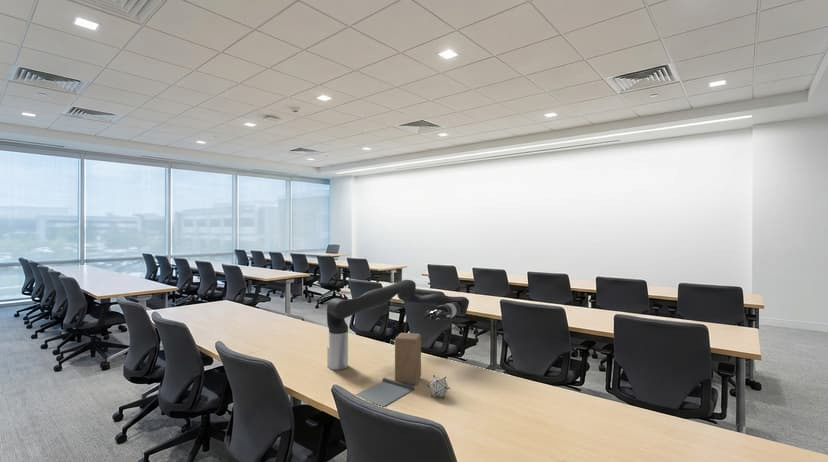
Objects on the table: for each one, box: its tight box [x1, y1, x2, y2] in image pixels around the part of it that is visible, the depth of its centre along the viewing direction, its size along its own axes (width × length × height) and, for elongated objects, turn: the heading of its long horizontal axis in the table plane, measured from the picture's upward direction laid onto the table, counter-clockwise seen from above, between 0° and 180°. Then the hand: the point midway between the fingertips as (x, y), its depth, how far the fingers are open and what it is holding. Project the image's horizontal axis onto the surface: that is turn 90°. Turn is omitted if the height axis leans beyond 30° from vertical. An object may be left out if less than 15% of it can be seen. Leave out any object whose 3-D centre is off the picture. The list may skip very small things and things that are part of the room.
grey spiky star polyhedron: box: [426, 374, 451, 400], centre depth 154 cm, size 9×8×10 cm
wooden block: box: [394, 332, 422, 386], centre depth 171 cm, size 10×10×20 cm
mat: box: [355, 377, 415, 408], centre depth 157 cm, size 16×20×2 cm
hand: (428, 317), depth 185 cm, fingers open, 3 cm apart
